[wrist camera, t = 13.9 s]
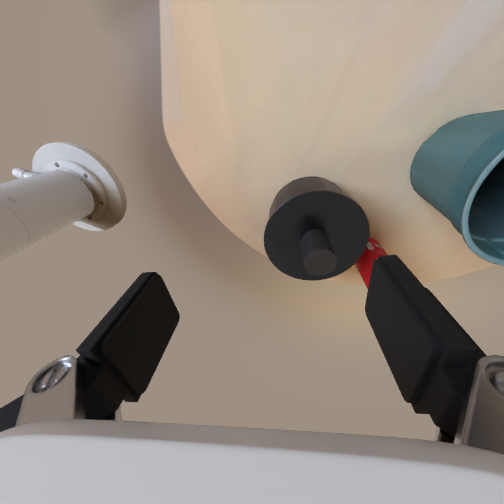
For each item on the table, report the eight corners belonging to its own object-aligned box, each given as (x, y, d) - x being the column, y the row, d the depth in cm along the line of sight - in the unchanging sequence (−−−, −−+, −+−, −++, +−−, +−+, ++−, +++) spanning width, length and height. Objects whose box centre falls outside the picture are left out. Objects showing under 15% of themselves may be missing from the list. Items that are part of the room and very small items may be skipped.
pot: (259, 231, 43) (255, 258, 35) (289, 163, 35) (291, 178, 27) (321, 254, 44) (330, 285, 36) (362, 194, 37) (384, 216, 29)
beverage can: (381, 249, 42) (413, 292, 32) (356, 262, 44) (378, 305, 34) (370, 230, 40) (399, 269, 30) (343, 244, 42) (363, 284, 32)
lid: (251, 257, 36) (245, 284, 30) (289, 170, 28) (291, 185, 22) (331, 287, 37) (340, 317, 31) (390, 212, 29) (416, 235, 23)
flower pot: (370, 188, 36) (424, 232, 22) (457, 69, 27) (631, 25, 14) (450, 226, 38) (544, 287, 24) (555, 126, 29) (793, 137, 16)
